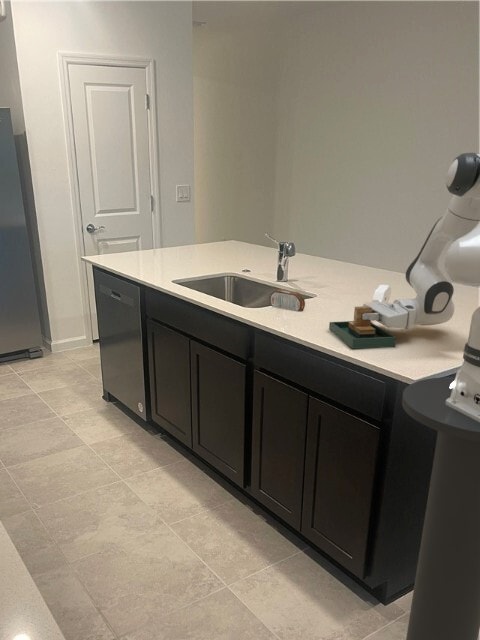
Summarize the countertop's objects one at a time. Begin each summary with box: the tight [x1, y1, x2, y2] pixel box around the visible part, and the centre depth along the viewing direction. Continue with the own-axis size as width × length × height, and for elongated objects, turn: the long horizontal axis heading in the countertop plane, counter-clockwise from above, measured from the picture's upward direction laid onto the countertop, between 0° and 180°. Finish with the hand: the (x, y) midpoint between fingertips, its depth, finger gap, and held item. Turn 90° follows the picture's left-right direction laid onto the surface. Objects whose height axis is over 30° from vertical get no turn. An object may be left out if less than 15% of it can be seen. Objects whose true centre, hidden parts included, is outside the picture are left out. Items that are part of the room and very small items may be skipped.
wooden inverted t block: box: [348, 305, 375, 338], centre depth 176 cm, size 10×5×9 cm, turn 6°
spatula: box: [371, 284, 392, 322], centre depth 200 cm, size 38×8×4 cm
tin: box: [269, 288, 306, 312], centre depth 212 cm, size 15×3×8 cm, turn 47°
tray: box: [328, 320, 397, 349], centre depth 177 cm, size 22×14×3 cm, turn 6°
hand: (359, 315), depth 175 cm, fingers closed on wooden inverted t block, 2 cm apart
